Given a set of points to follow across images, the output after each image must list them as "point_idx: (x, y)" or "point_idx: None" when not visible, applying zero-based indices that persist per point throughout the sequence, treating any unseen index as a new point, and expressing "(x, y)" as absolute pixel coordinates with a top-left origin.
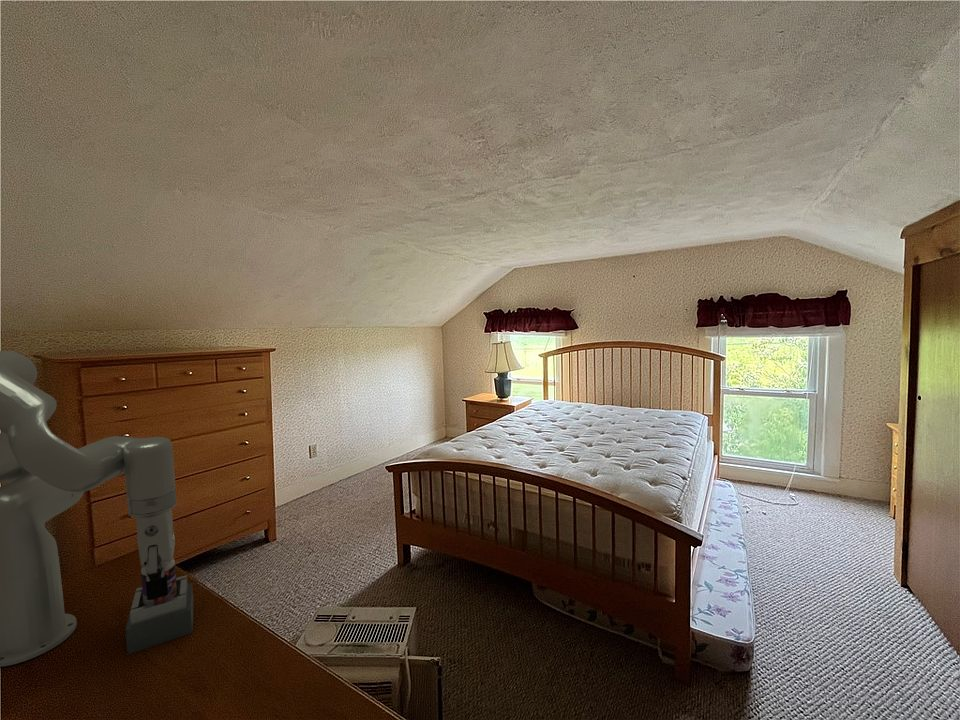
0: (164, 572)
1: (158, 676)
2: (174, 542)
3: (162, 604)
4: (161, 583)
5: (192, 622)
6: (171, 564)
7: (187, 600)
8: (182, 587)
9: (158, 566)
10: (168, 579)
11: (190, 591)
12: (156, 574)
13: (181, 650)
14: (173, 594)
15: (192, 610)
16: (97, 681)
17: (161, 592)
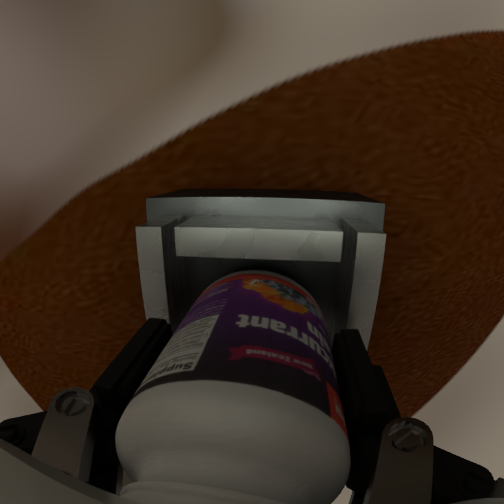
0: (391, 443)
1: (467, 274)
2: (21, 498)
3: (369, 329)
4: (391, 404)
5: (319, 191)
6: (300, 428)
7: (296, 214)
8: (266, 247)
9: (315, 502)
10: (327, 366)
11: (219, 202)
12: (501, 483)
13: (416, 225)
14: (298, 287)
15: (271, 191)
16: (389, 381)
17: (381, 368)
